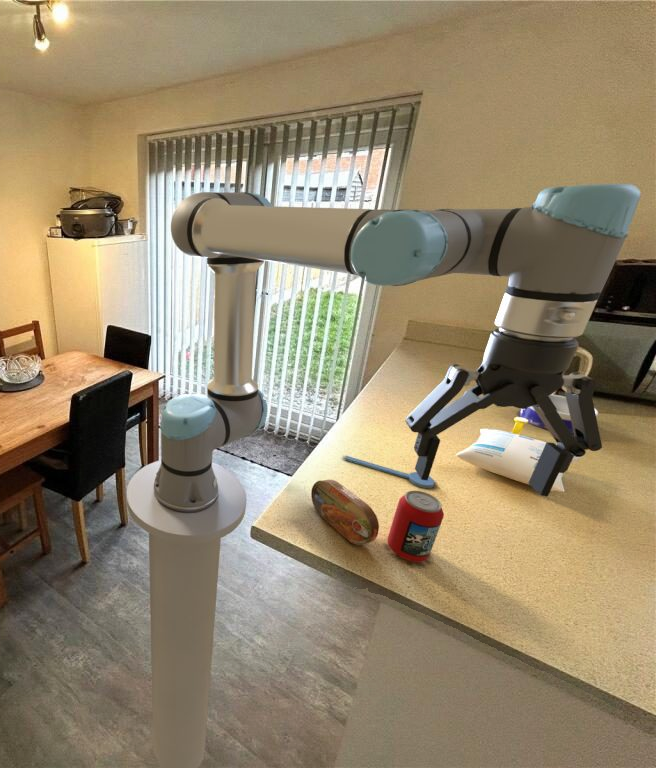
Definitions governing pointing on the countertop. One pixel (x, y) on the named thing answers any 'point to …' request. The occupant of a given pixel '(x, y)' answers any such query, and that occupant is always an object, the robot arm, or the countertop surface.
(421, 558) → the beverage can
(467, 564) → the countertop surface
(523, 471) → the pouch
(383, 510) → the countertop surface
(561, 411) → the dog bowl
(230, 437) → the robot arm
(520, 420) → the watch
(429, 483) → the spoon
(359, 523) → the tin
